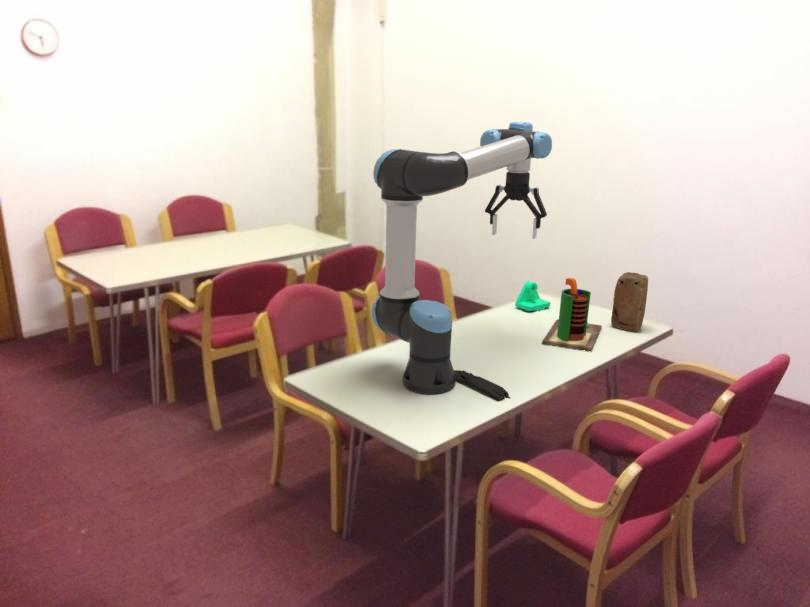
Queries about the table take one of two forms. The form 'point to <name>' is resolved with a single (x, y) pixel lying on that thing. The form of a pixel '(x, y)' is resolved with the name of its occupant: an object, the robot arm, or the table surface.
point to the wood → (482, 385)
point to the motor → (573, 312)
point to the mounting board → (584, 344)
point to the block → (629, 301)
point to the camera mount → (531, 298)
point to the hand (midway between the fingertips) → (514, 236)
